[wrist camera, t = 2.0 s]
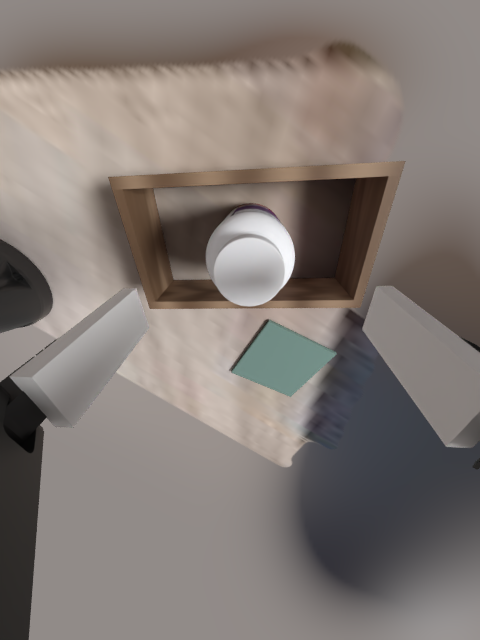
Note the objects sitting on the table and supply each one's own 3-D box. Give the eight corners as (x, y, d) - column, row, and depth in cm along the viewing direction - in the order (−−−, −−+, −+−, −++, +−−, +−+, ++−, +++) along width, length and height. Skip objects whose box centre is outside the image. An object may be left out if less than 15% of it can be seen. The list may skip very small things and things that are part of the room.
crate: (168, 286, 33) (149, 308, 27) (142, 178, 25) (108, 177, 19) (340, 284, 31) (360, 307, 25) (367, 166, 23) (405, 160, 17)
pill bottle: (242, 276, 31) (235, 334, 19) (209, 227, 28) (174, 261, 16) (292, 245, 28) (320, 291, 16) (262, 187, 25) (268, 190, 13)
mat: (231, 370, 42) (231, 372, 42) (269, 319, 35) (269, 321, 35) (290, 394, 45) (290, 396, 45) (335, 351, 38) (336, 354, 37)
